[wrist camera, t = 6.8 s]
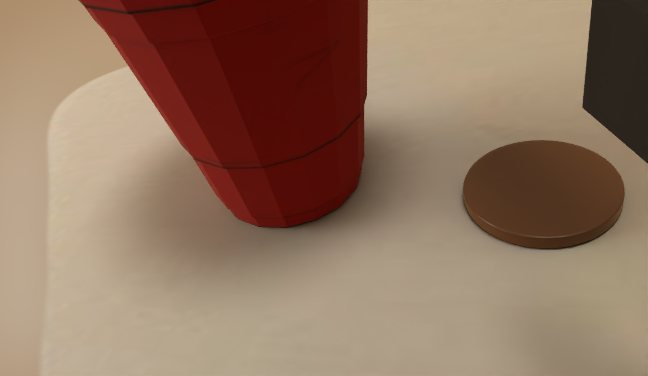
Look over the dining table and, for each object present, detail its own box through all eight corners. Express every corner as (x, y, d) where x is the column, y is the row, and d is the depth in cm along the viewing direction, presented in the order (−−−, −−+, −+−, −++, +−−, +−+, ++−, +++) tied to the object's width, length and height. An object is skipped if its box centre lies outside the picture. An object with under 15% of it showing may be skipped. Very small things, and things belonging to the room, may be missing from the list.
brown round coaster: (517, 135, 24) (518, 124, 24) (652, 181, 21) (654, 170, 20) (434, 207, 22) (433, 197, 21) (569, 274, 18) (570, 262, 18)
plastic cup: (103, 256, 23) (-90, -65, 16) (241, 102, 30) (154, -169, 23) (368, 317, 18) (273, -97, 11) (457, 118, 26) (436, -215, 18)
